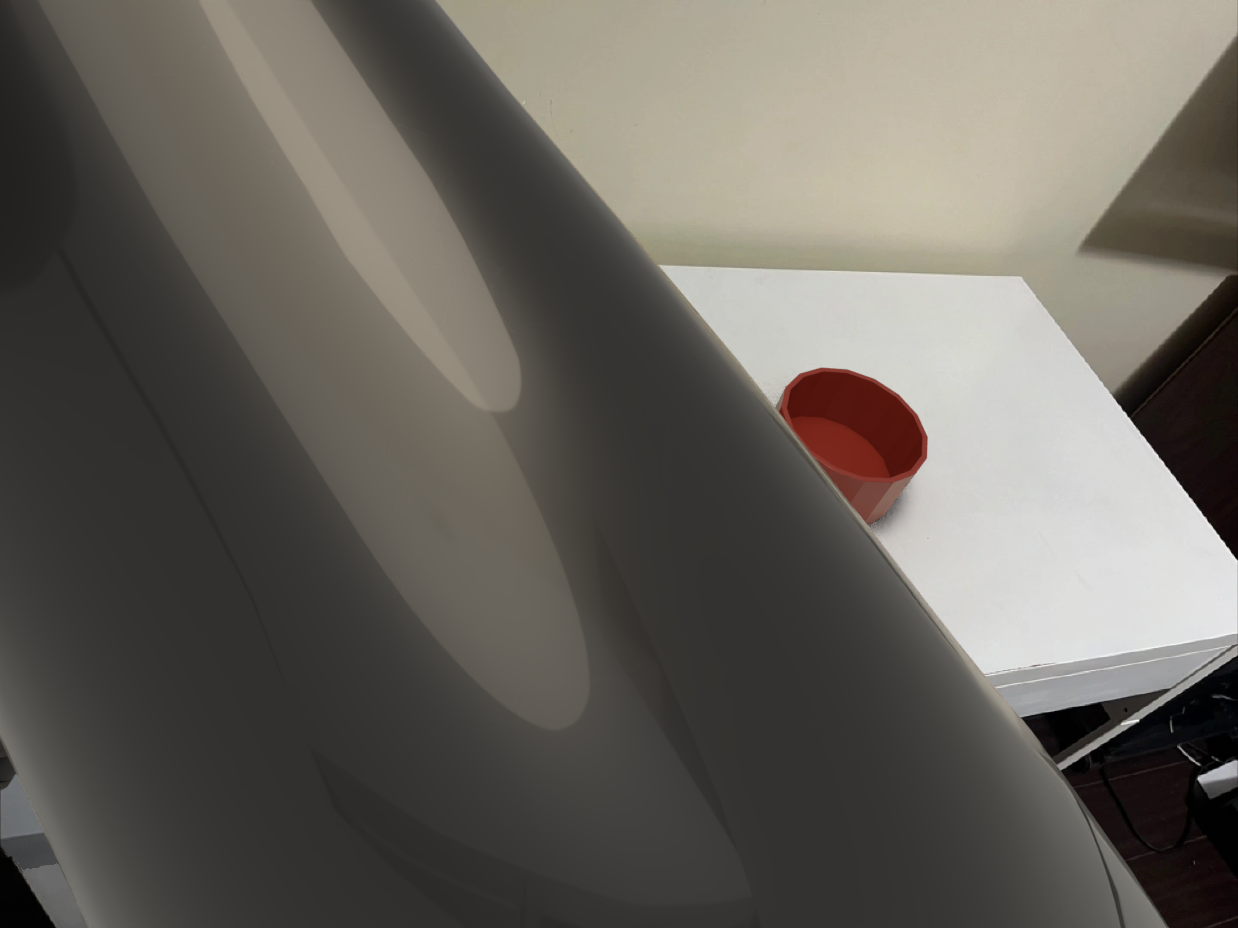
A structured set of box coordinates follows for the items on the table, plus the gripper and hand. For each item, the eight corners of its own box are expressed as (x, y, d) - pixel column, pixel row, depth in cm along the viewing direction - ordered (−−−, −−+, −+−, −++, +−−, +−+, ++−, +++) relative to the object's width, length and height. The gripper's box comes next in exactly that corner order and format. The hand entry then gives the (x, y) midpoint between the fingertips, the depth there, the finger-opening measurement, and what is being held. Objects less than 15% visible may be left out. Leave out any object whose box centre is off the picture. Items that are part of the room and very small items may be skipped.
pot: (915, 473, 80) (950, 427, 76) (855, 554, 73) (889, 508, 68) (800, 396, 84) (826, 347, 79) (730, 465, 76) (755, 416, 71)
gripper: (-297, 766, 24) (162, 674, 39) (-513, 469, 28) (-17, 492, 43) (-419, 971, 25) (79, 801, 40) (-613, 654, 28) (-90, 611, 44)
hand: (29, 641), depth 42 cm, fingers open, 8 cm apart
